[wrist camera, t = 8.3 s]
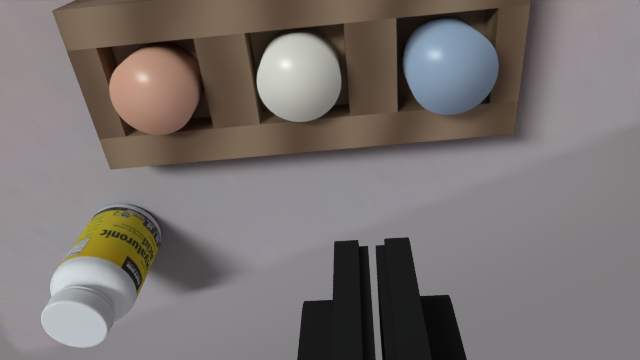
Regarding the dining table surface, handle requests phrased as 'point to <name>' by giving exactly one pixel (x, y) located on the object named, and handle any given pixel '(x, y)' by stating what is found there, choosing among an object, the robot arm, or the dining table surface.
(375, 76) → the wooden compartment tray
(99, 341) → the supplement bottle
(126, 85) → the pink rounded dome
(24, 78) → the dining table surface
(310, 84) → the cream button
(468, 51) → the blue rounded knob
